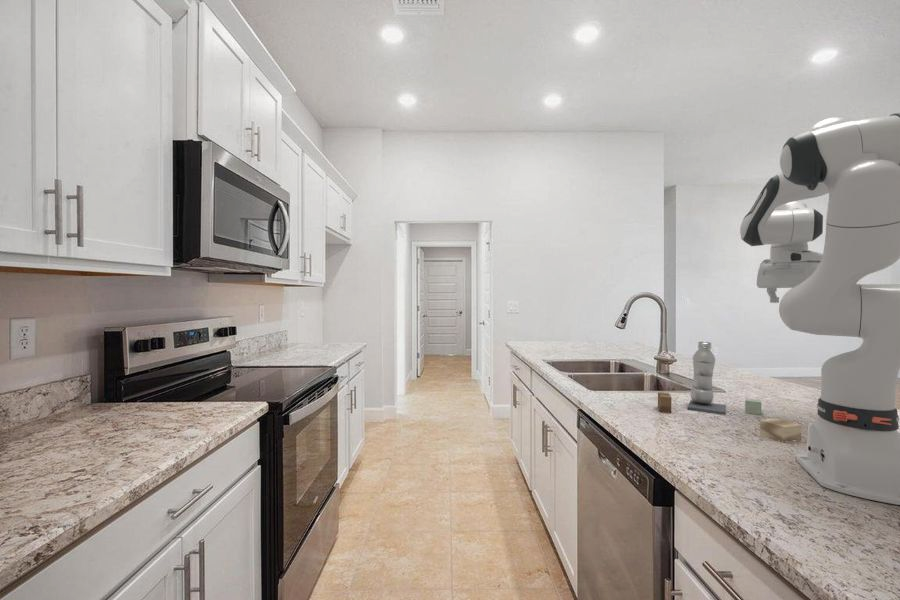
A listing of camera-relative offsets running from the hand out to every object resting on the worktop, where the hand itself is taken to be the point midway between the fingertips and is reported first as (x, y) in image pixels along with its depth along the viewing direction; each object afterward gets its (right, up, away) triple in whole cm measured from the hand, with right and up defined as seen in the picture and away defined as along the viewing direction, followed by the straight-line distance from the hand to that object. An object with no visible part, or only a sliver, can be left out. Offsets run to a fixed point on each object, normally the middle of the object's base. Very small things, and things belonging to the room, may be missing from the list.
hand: (787, 303), depth 126 cm
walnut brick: (-34, -34, +6) cm, 48 cm away
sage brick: (-8, -34, +4) cm, 35 cm away
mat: (-19, -34, +8) cm, 40 cm away
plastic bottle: (-20, -33, +11) cm, 40 cm away
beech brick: (-17, -35, -18) cm, 42 cm away
